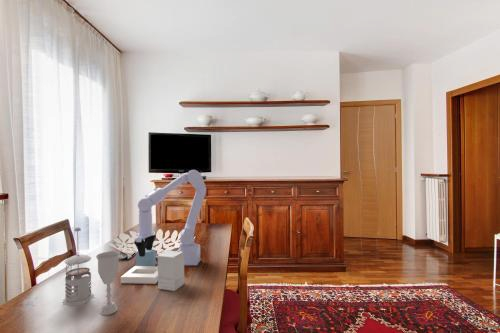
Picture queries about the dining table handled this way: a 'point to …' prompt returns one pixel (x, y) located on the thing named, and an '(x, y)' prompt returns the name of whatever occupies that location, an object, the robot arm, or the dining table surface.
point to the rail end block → (146, 258)
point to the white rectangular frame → (141, 275)
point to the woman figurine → (123, 255)
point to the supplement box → (170, 270)
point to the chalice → (108, 277)
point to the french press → (77, 280)
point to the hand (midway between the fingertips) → (145, 253)
